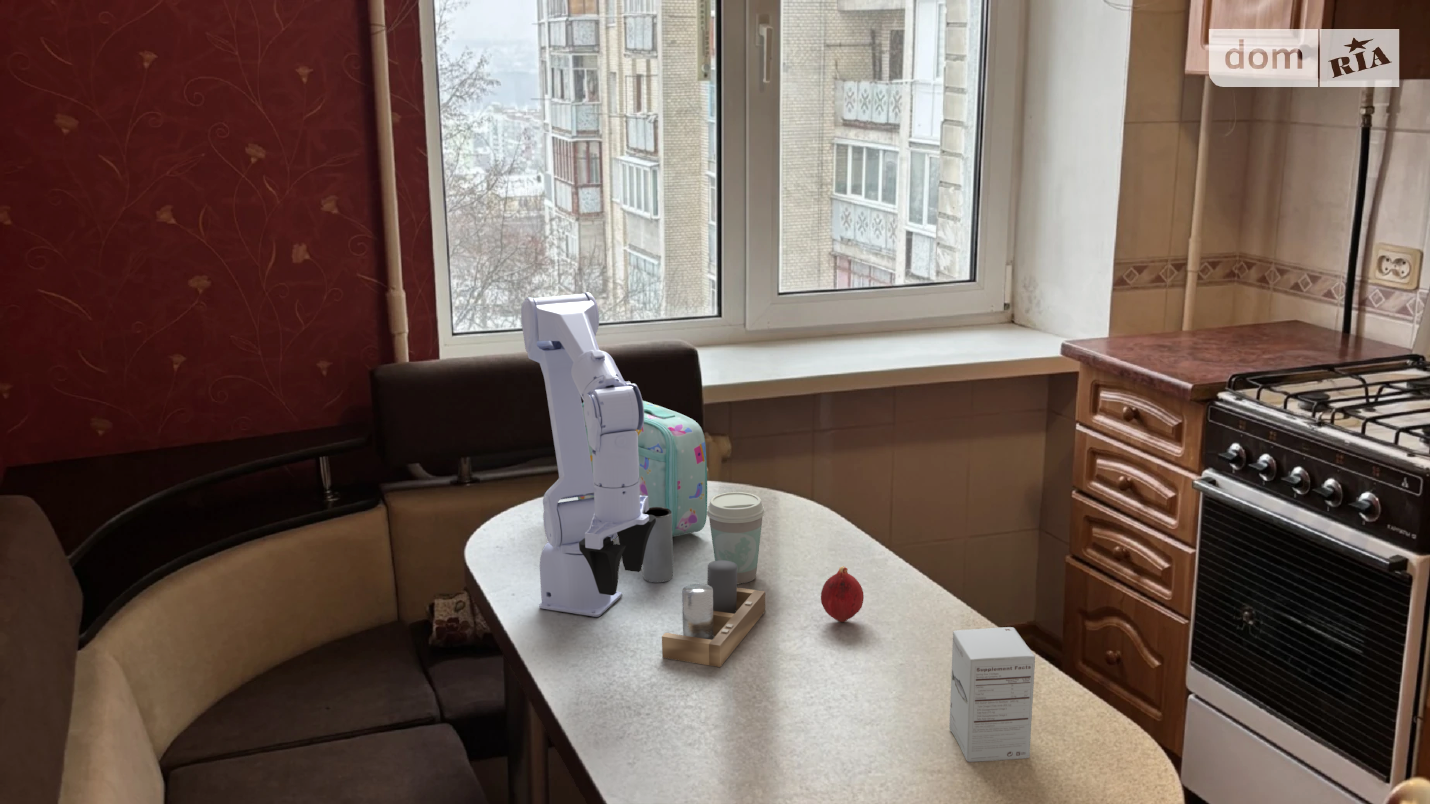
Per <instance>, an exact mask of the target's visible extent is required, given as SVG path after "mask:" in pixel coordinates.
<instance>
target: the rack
mask: <svg viewBox="0 0 1430 804" xmlns="http://www.w3.org/2000/svg"><path fill="white" fill-rule="evenodd" d="M765 612H766V591H765V590H757V589H751V588H750V589H749V588H744V587H743V588H742V587H737V600H736V613H735V614H732V613H725V612H719V611H713V633H714V638H713V640H710V639H703V638H697V637H691V636H684V635H683V634H678V633H670V632H665V633H663V634H662V635H661V652H662V653H661V654H662V659H668V660H675V661H681V662H686V663H693V664H699V665H704V666H709V667H710V666H711V667H718V668H721V667H722V666H723V664H724V663H725V662H726V660H727V659H728V658H729V657H730V656H731V654H732V653H733V652H734V650H735V649H736V648H737V647H738V646H739V645H740V643H741V642H742V641H743V640H744V638H745V637H746V636H747V634H748V633H749V632H750V631H751V629H752V628H753V627H754V626H755V624H756V623H757V622H758V621H759V620H760V618H761V617H762V616H763V615H764V614H765ZM762 614H763V615H762Z"/></svg>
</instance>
